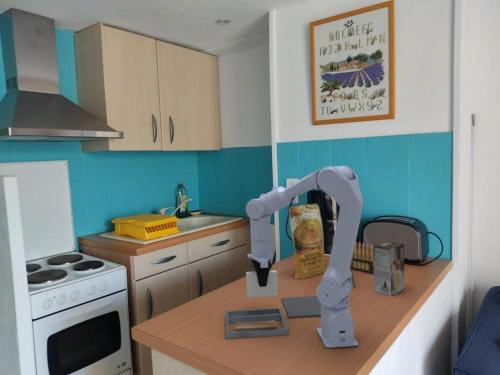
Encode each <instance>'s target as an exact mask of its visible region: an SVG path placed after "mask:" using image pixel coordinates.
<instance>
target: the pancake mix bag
mask: <svg viewBox="0 0 500 375" xmlns="http://www.w3.org/2000/svg"><path fill="white" fill-rule="evenodd" d="M288 218H289V224H290V233H291V239H292V242H293V249H294V250H293V251H294V253H293V255H294V260H295V273H294V279H295V280H296V279H299V280H303V279H308V278H311V277H312V278H313V277H315V276H318V275H321V274H322V275H323V274H324V273H325V271H326V269H325V268H326V267H325V249H324V248H325V246H324V245H325V243H324V238H325V237H324V229H323V227H324V226H323V221H322V220H323V219H322V216H321V211H320V206H319V205H318V203H311V204H300V205H295V206H294V205H293V206H291V207H289V209H288Z"/></svg>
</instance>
